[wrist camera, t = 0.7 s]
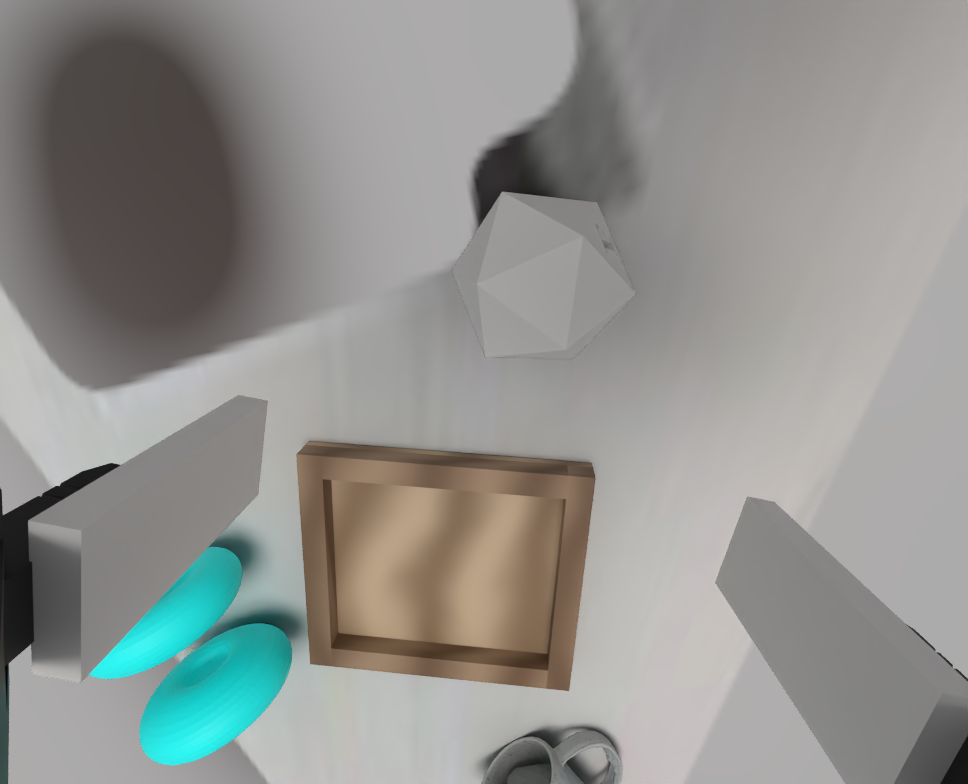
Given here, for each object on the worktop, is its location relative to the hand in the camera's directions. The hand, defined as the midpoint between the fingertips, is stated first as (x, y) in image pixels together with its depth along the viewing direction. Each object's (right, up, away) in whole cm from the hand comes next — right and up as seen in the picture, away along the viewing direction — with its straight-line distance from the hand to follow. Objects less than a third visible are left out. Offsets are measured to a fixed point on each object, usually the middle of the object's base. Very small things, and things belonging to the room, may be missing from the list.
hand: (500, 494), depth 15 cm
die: (+3, +10, +17) cm, 20 cm away
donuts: (-19, -13, +26) cm, 35 cm away
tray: (-3, -9, +23) cm, 25 cm away
